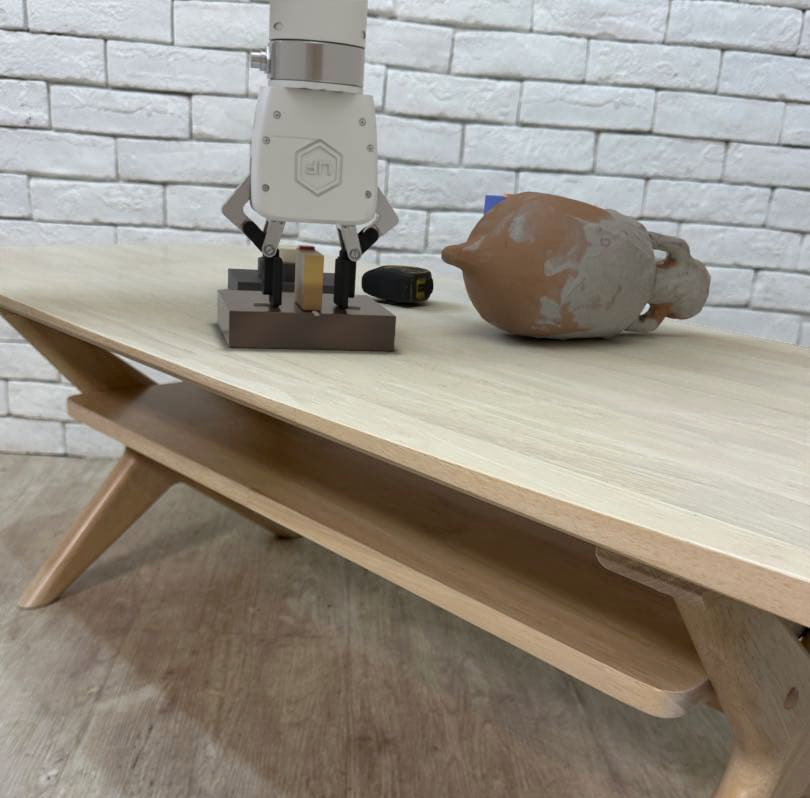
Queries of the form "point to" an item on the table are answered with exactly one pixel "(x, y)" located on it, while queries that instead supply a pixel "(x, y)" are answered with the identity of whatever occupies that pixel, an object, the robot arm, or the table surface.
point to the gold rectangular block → (309, 278)
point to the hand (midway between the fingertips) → (307, 303)
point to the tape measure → (398, 283)
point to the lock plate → (303, 323)
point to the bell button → (287, 253)
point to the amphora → (574, 270)
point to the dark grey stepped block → (253, 279)
